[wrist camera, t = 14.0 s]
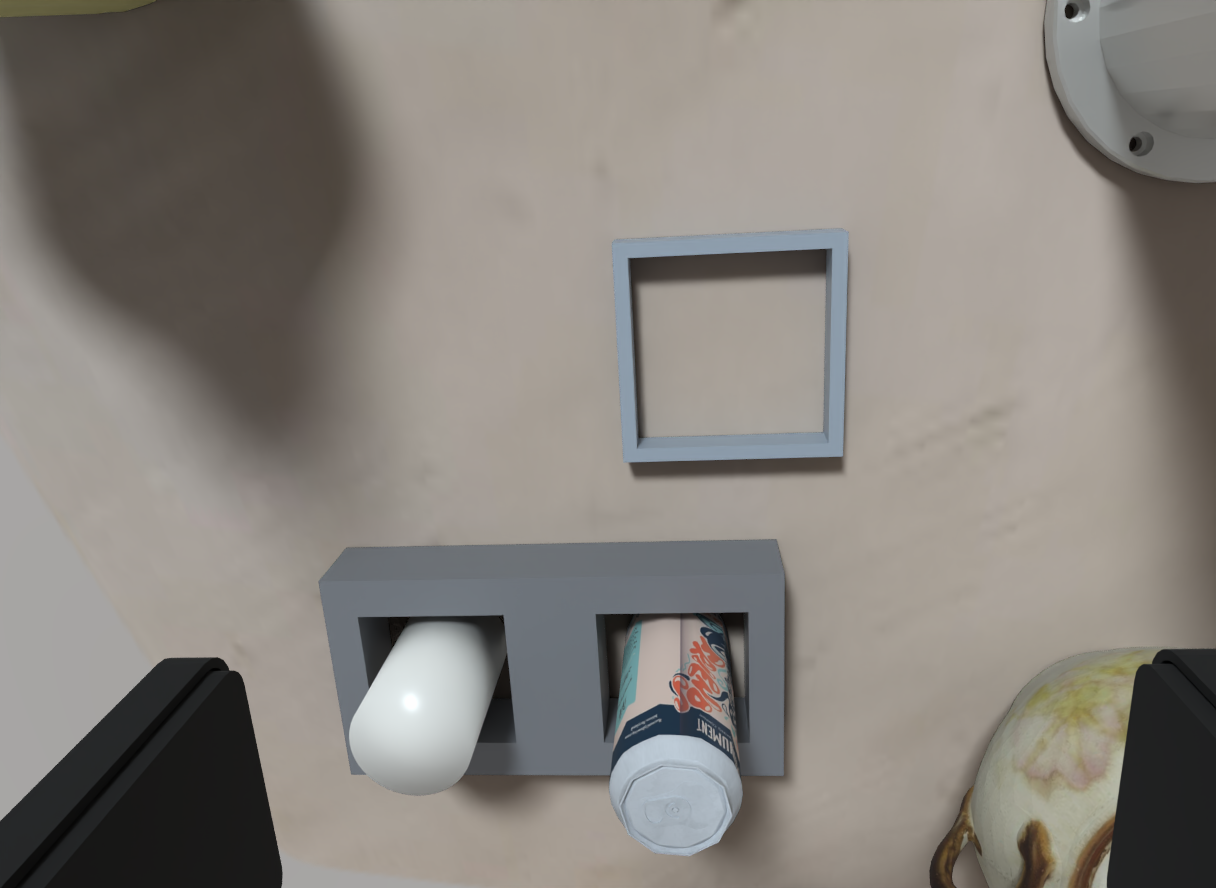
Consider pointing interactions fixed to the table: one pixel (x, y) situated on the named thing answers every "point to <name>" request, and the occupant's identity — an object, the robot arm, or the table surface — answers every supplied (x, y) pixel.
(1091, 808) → the sugar bowl
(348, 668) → the two-slot holder block
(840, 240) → the hollow square frame
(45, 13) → the potted cactus
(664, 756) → the beer can
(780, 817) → the table surface
